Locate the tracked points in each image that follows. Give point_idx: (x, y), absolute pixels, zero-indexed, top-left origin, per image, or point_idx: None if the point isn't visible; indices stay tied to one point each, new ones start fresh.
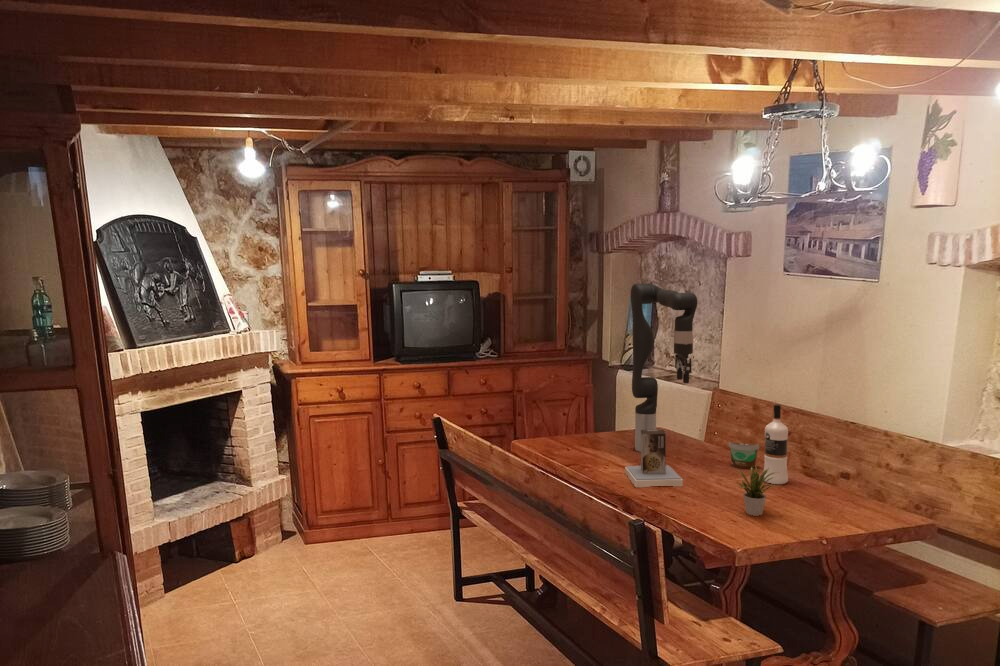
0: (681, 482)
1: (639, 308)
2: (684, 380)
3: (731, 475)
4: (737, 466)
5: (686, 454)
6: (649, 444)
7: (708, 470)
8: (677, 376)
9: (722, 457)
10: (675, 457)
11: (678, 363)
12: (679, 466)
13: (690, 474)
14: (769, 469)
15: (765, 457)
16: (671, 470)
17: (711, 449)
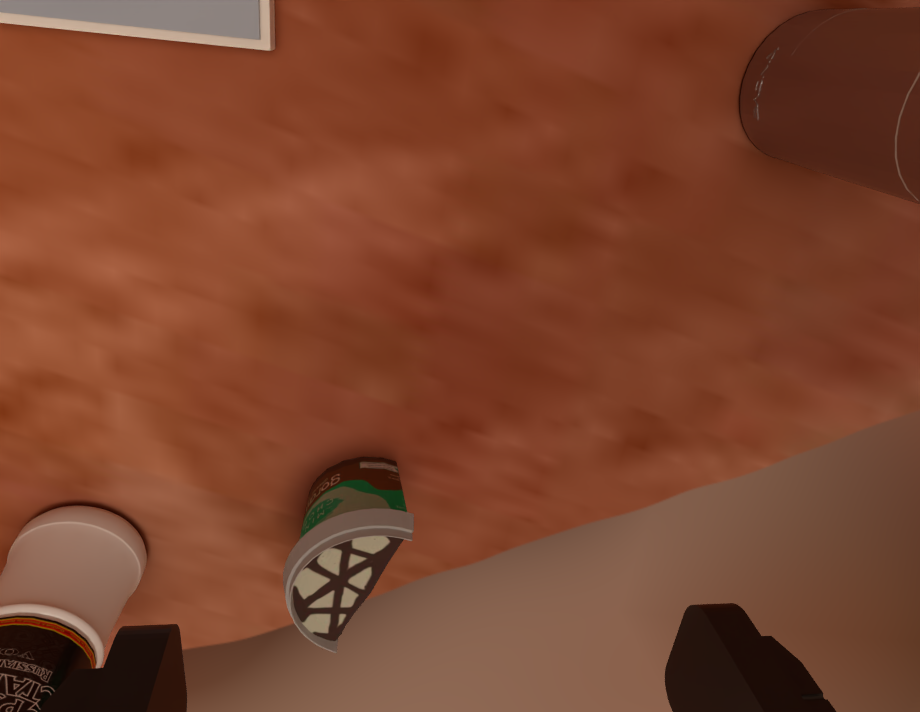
0: None
1: None
2: (97, 702)
3: (191, 396)
4: (329, 471)
5: (628, 307)
6: None
7: (296, 313)
8: (734, 666)
9: (524, 461)
10: (590, 222)
11: None
12: (399, 174)
13: (217, 177)
14: (15, 565)
15: (21, 603)
16: (107, 4)
17: (673, 459)
